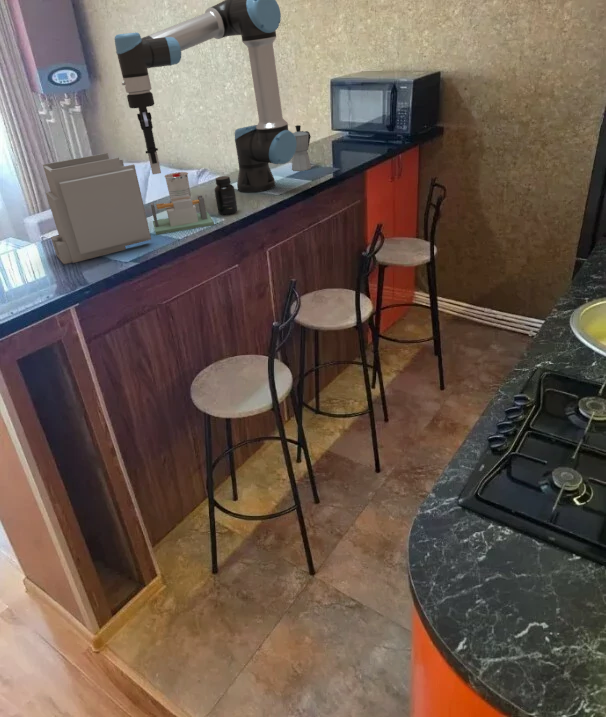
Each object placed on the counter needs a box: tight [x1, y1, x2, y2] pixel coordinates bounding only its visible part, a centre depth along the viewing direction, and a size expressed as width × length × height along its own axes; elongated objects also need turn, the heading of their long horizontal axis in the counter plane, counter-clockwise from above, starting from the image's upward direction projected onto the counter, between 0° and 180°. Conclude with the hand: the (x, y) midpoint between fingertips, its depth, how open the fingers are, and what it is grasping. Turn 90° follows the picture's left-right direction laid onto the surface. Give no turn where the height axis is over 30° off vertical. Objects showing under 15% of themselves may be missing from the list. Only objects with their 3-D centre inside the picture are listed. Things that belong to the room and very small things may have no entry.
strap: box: [155, 197, 201, 210], centre depth 189 cm, size 15×4×1 cm, turn 107°
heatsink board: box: [149, 194, 215, 236], centre depth 190 cm, size 19×14×8 cm
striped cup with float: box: [164, 171, 192, 203], centre depth 208 cm, size 10×8×12 cm
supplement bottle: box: [214, 175, 238, 216], centre depth 197 cm, size 7×7×12 cm
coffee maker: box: [291, 124, 312, 172], centre depth 248 cm, size 15×9×18 cm, turn 148°
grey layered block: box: [42, 152, 152, 265], centre depth 170 cm, size 17×27×26 cm, turn 122°
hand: (156, 173), depth 183 cm, fingers closed
